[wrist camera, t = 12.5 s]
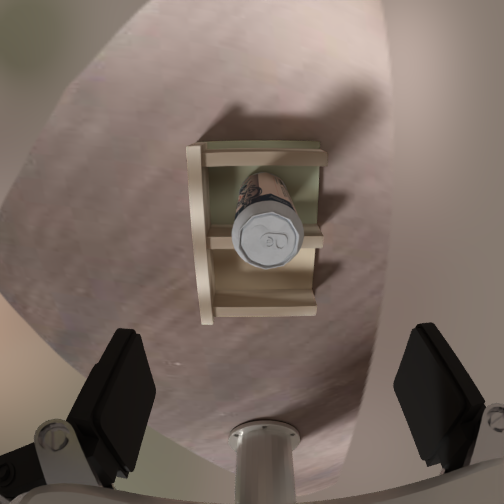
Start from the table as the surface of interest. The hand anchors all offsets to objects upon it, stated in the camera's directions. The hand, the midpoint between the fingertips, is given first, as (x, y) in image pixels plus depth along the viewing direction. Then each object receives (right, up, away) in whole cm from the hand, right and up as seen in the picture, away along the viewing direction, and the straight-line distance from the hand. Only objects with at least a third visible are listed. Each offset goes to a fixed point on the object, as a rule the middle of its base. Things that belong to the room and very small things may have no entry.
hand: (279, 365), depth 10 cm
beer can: (0, +9, +21) cm, 23 cm away
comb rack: (0, +6, +23) cm, 24 cm away
